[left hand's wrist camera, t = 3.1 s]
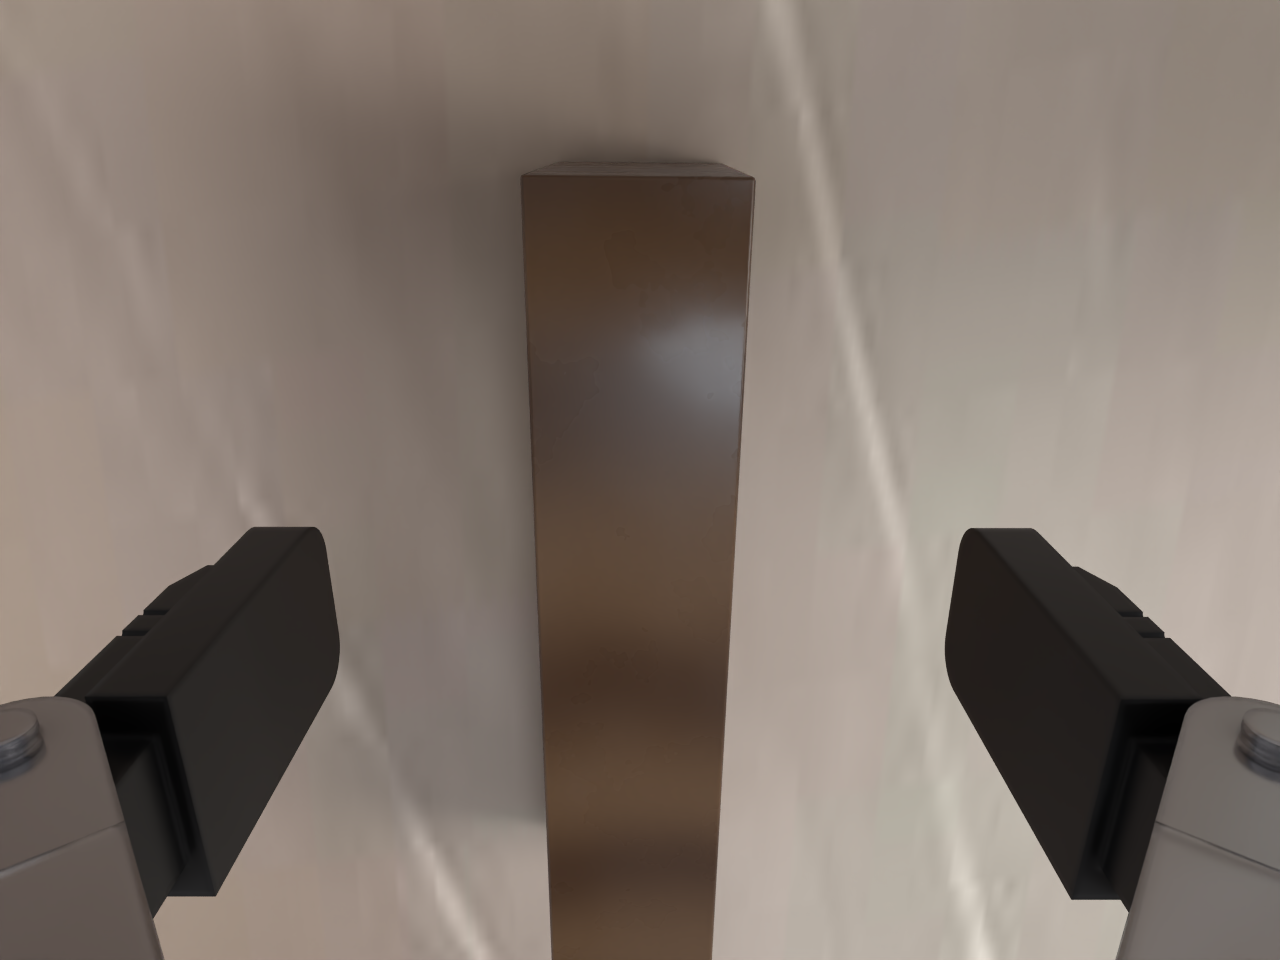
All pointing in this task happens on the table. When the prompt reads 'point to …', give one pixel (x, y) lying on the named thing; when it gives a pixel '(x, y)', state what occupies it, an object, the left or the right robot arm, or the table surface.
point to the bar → (635, 536)
